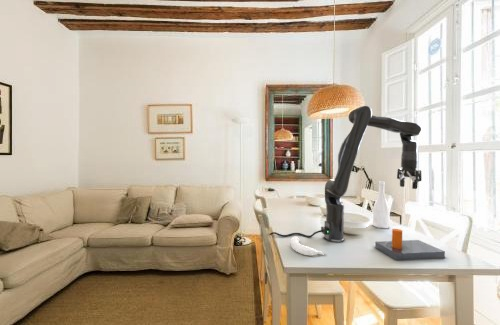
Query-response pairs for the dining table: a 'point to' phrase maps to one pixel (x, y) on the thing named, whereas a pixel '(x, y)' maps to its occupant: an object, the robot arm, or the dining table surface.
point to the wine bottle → (381, 208)
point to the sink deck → (410, 250)
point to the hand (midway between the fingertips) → (408, 187)
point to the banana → (303, 248)
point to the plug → (397, 238)
